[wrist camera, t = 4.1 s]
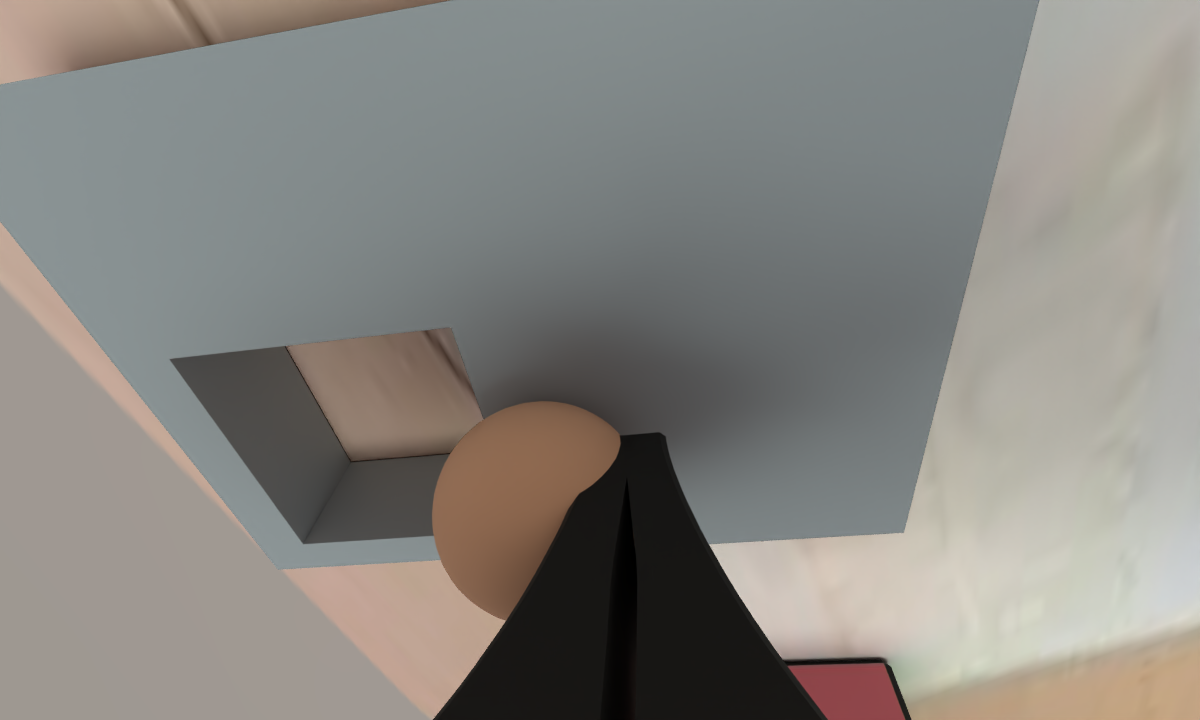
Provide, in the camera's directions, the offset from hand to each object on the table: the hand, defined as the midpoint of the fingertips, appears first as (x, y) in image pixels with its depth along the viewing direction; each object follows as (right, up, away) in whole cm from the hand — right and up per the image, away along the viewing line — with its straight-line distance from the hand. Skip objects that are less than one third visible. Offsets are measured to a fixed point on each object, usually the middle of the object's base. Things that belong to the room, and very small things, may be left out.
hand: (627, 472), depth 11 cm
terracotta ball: (-2, -1, 0) cm, 2 cm away
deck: (-2, +4, +3) cm, 5 cm away
